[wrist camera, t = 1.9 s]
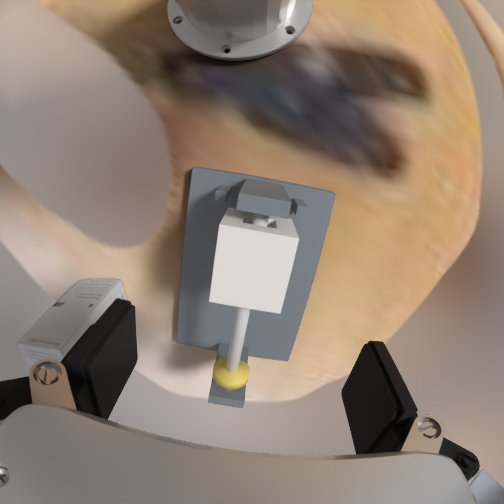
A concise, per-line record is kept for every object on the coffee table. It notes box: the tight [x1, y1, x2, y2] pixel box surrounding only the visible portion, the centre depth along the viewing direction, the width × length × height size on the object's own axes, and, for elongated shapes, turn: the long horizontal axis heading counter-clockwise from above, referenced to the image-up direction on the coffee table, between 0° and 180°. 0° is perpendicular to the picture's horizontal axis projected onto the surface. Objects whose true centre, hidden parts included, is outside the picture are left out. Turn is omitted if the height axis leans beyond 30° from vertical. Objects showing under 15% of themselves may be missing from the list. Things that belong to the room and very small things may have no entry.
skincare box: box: [18, 279, 127, 368], centre depth 23 cm, size 6×4×12 cm
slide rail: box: [177, 167, 336, 408], centre depth 23 cm, size 18×12×8 cm, turn 170°
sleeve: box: [209, 208, 299, 314], centre depth 19 cm, size 5×4×4 cm
